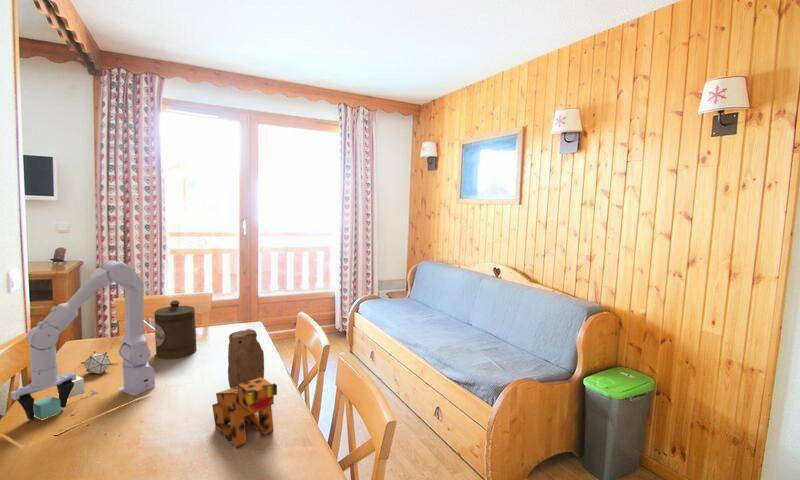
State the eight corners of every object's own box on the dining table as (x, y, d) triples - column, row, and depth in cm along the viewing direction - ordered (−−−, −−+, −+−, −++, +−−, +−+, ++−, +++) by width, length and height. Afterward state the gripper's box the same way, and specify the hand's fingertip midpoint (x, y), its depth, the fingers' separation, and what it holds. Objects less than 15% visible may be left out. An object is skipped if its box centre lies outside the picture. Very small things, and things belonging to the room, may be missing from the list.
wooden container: (158, 348, 173) (156, 298, 171) (197, 344, 179) (195, 295, 177) (153, 361, 160) (151, 306, 158) (195, 356, 166) (194, 303, 164)
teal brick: (61, 415, 120) (60, 399, 119) (41, 423, 116) (40, 406, 115) (53, 411, 122) (51, 395, 121) (33, 419, 118) (32, 402, 117)
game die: (96, 386, 146) (79, 372, 139) (88, 372, 151) (72, 357, 144) (121, 369, 151) (107, 354, 144) (113, 355, 155) (98, 341, 148)
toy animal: (247, 412, 124) (246, 361, 122) (281, 439, 110) (281, 383, 109) (212, 425, 116) (210, 372, 115) (244, 456, 103) (243, 396, 101)
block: (234, 397, 133) (233, 337, 131) (226, 388, 139) (225, 331, 137) (266, 387, 140) (266, 331, 138) (257, 379, 146) (257, 325, 144)
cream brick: (84, 393, 132) (83, 378, 132) (68, 399, 128) (67, 383, 128) (77, 389, 134) (76, 375, 134) (60, 395, 130) (59, 380, 130)
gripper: (66, 356, 125) (69, 398, 127) (4, 374, 113) (8, 420, 114) (78, 361, 122) (81, 404, 124) (16, 379, 109) (20, 427, 111)
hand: (47, 412), depth 119 cm, fingers open, 7 cm apart
